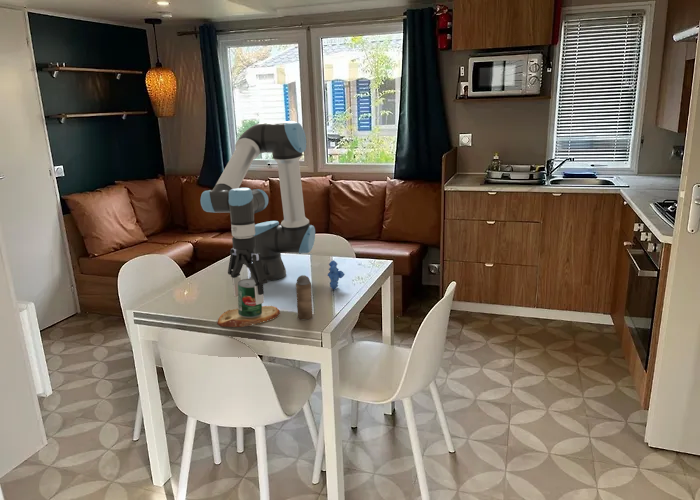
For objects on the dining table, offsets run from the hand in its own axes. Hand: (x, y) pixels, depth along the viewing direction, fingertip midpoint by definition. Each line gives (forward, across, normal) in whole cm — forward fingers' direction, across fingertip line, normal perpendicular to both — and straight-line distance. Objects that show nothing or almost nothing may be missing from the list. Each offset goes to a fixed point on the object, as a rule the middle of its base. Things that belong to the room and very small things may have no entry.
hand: (248, 299), depth 187 cm
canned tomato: (+5, 0, 0) cm, 5 cm away
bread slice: (+8, -2, +1) cm, 8 cm away
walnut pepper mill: (+7, +12, +14) cm, 20 cm away
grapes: (+8, -2, +42) cm, 43 cm away
